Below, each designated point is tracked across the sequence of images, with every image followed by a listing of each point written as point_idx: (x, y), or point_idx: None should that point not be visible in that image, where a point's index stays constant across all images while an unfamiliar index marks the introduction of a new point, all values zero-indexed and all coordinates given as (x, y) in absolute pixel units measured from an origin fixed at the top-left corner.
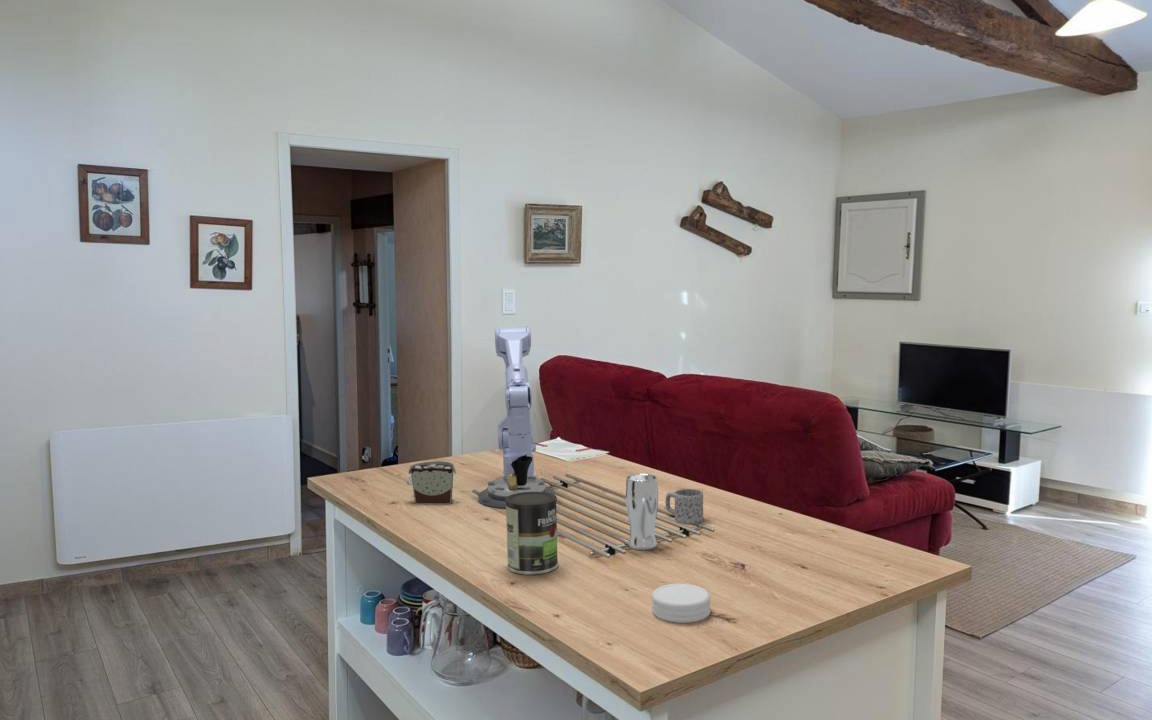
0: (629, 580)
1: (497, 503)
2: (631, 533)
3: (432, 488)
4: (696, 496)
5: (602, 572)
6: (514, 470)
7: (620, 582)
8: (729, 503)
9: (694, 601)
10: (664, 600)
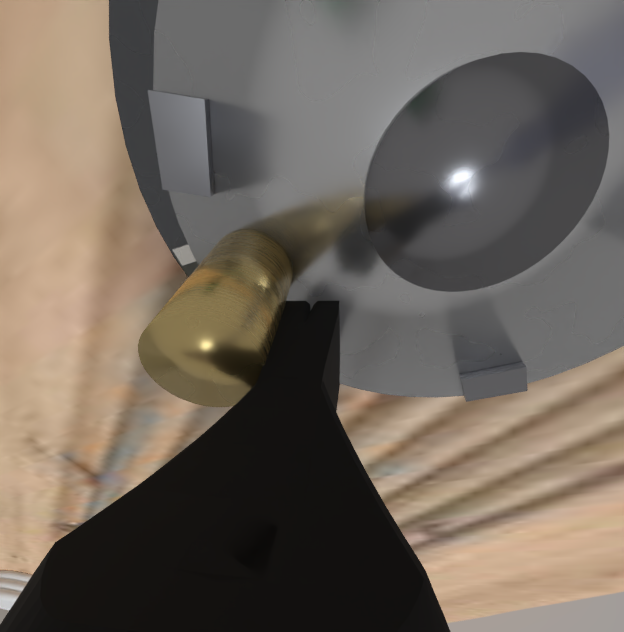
0: (38, 556)
1: (136, 176)
2: None
3: None
4: None
5: (25, 539)
6: (247, 401)
7: (23, 552)
8: (467, 604)
9: (8, 608)
10: None
